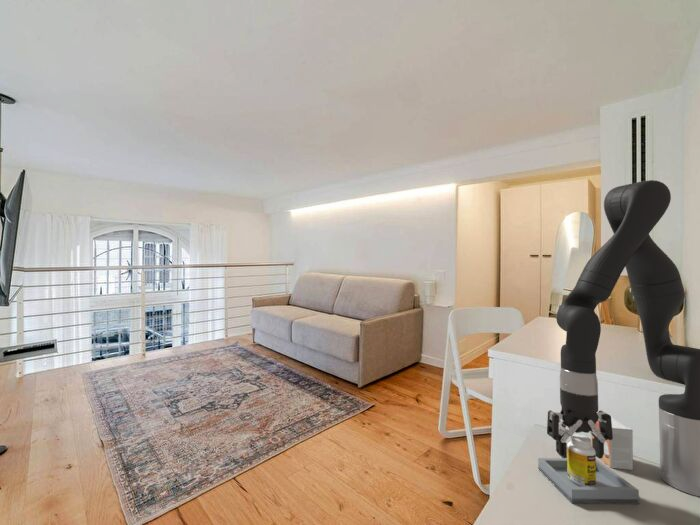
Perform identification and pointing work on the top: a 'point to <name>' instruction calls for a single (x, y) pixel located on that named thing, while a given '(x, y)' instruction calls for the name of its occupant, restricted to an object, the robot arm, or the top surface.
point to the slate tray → (604, 492)
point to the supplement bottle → (581, 461)
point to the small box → (618, 446)
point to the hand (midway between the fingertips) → (579, 456)
